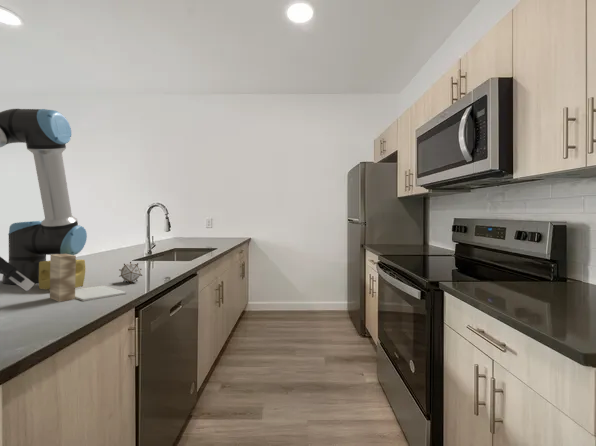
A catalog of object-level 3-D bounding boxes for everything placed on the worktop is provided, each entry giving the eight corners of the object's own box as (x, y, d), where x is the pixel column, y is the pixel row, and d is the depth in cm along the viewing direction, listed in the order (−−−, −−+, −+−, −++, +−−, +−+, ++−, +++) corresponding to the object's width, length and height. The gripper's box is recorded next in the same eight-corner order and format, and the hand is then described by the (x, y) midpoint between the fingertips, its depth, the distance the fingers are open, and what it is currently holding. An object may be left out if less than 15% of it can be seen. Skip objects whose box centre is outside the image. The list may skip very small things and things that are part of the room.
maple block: (59, 301, 111) (60, 256, 111) (49, 298, 115) (50, 254, 115) (75, 299, 115) (75, 255, 114) (65, 295, 119) (66, 253, 118)
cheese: (62, 291, 124) (62, 263, 124) (36, 289, 127) (36, 261, 126) (85, 285, 135) (86, 259, 134) (61, 283, 137) (61, 257, 137)
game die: (135, 291, 144) (151, 272, 144) (116, 286, 138) (132, 267, 137) (128, 277, 150) (143, 259, 149) (110, 272, 143) (125, 253, 142)
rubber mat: (83, 301, 113) (83, 299, 113) (61, 293, 122) (61, 291, 122) (126, 293, 124) (126, 292, 124) (103, 287, 133) (103, 285, 133)
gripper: (-65, 241, 95) (11, 293, 109) (-53, 245, 88) (27, 301, 102) (-38, 221, 99) (32, 274, 113) (-24, 223, 92) (49, 280, 106)
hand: (30, 287), depth 108 cm, fingers closed
